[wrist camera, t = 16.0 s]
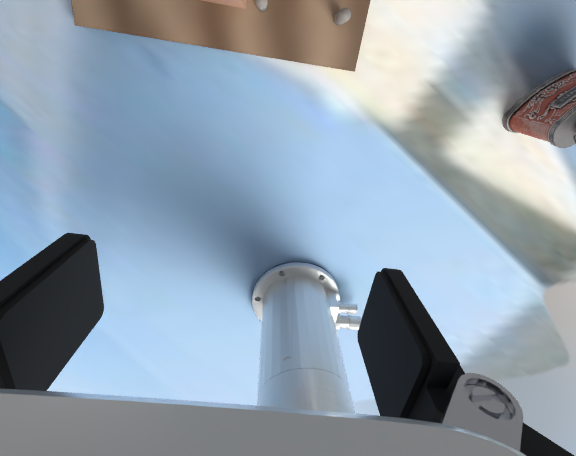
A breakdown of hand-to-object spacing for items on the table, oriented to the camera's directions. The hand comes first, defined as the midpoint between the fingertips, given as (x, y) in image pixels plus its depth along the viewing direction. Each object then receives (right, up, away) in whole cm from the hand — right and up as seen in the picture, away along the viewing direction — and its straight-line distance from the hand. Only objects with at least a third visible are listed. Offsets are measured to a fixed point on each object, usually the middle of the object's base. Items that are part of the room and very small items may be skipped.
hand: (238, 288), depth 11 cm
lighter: (+29, +16, +24) cm, 41 cm away
